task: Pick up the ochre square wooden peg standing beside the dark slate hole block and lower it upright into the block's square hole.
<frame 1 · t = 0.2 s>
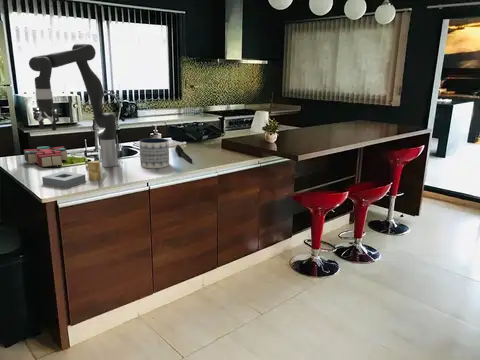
hand: (48, 129, 203), 29 cm above the countertop, tool pointing down, fingers open, 8 cm apart
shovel: (183, 158, 276), on the countertop
peg: (95, 179, 219), on the countertop
toy: (48, 163, 254), on the countertop
hole block: (64, 182, 210), on the countertop
planter: (155, 165, 253), on the countertop
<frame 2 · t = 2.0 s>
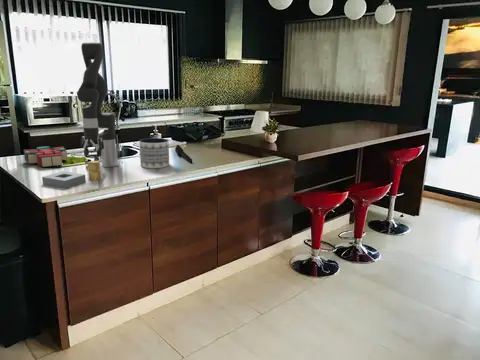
hand: (92, 156, 215), 13 cm above the countertop, tool pointing down, fingers open, 8 cm apart
nothing on the countertop moved.
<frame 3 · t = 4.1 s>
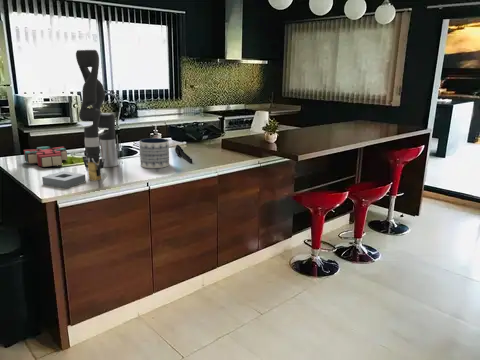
hand: (94, 175, 218), 2 cm above the countertop, tool pointing down, fingers closed on peg, 4 cm apart
peg: (95, 179, 219), on the countertop, touching gripper
everything else where it was.
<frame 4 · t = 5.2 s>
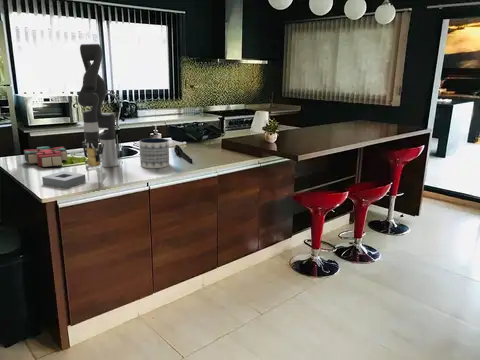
hand: (94, 160, 216), 10 cm above the countertop, tool pointing down, fingers closed on peg, 4 cm apart
peg: (94, 165, 217), point 8 cm above the countertop, touching gripper
everything else where it was.
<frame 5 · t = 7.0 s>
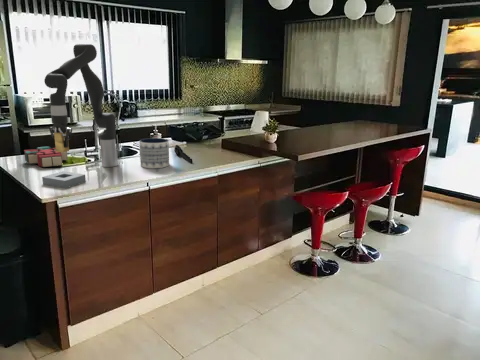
hand: (62, 146, 205), 20 cm above the countertop, tool pointing down, fingers closed on peg, 4 cm apart
peg: (62, 151, 206), point 17 cm above the countertop, touching gripper
everything else where it was.
when the fingers open (5 cm above the countertop, at t = 10.1 s): peg drops 2 cm, resting in hole block.
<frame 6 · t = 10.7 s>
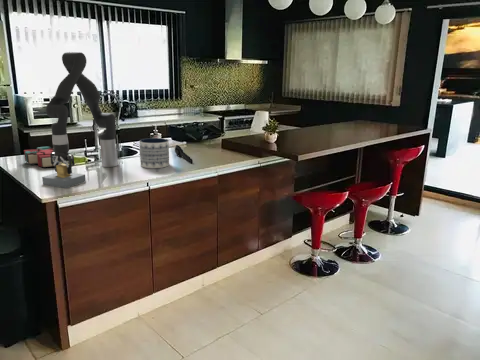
hand: (63, 172, 209), 6 cm above the countertop, tool pointing down, fingers open, 8 cm apart
peg: (64, 183, 210), resting in hole block
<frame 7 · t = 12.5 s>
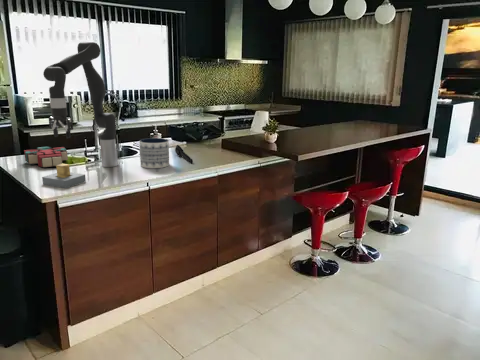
hand: (62, 137, 209), 24 cm above the countertop, tool pointing down, fingers open, 8 cm apart
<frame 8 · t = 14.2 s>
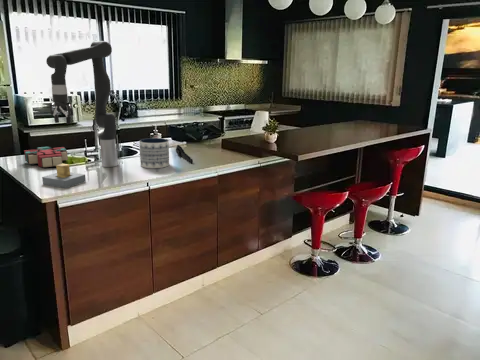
hand: (62, 123, 217), 30 cm above the countertop, tool pointing down, fingers open, 8 cm apart
at the end: peg 0.1 cm off-centre on the hole block, point 0.0 cm above the hole block's base; peg tilted 0°; the gripper is holding nothing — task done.
